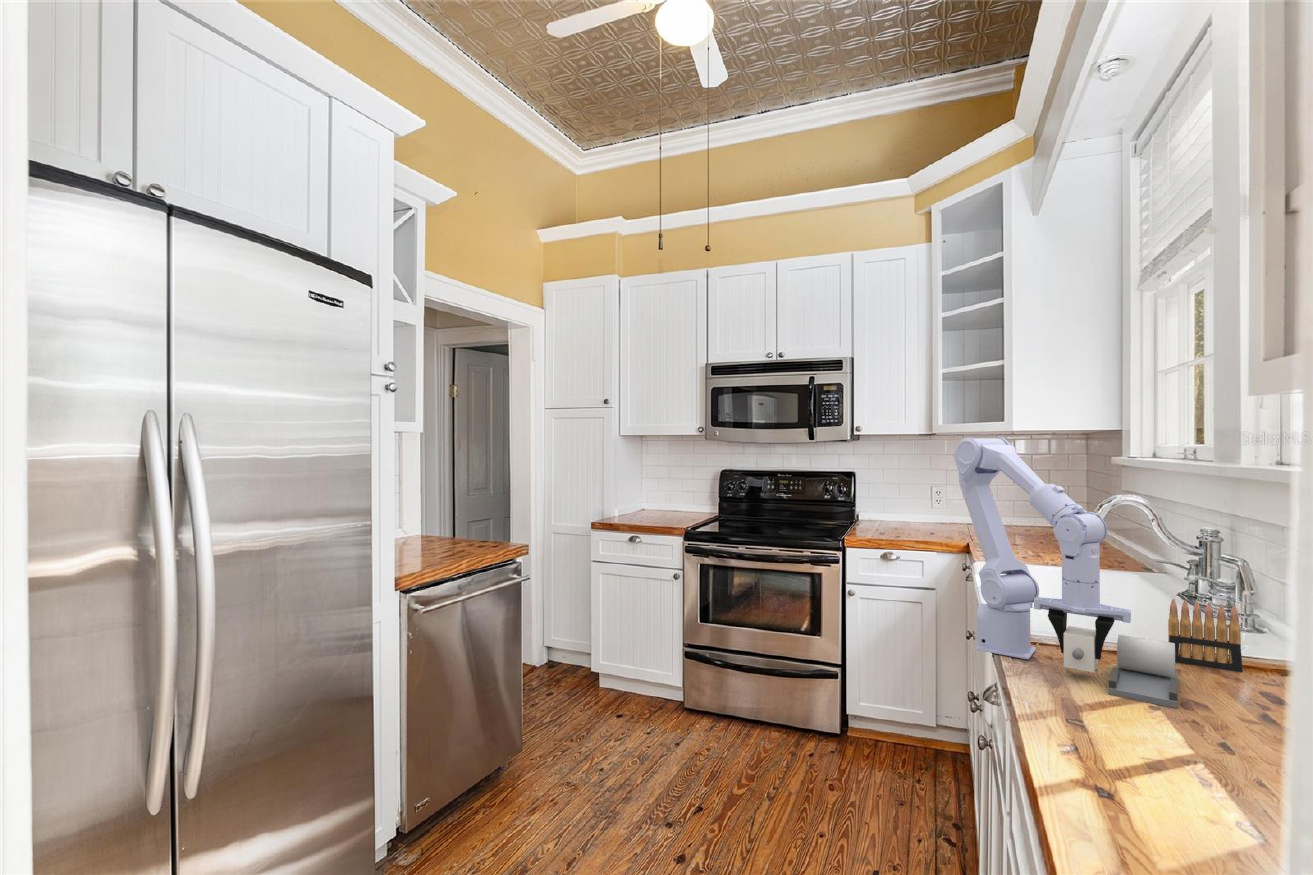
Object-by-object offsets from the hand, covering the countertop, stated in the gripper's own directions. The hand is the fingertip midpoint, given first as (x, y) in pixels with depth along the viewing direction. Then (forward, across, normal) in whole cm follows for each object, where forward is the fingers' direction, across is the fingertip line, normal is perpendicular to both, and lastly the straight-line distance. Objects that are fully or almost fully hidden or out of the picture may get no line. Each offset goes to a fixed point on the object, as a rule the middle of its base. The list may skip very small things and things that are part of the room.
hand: (1080, 654), depth 115 cm
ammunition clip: (+4, +17, +21) cm, 28 cm away
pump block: (+2, 0, 0) cm, 2 cm away
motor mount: (+4, +9, +1) cm, 10 cm away
